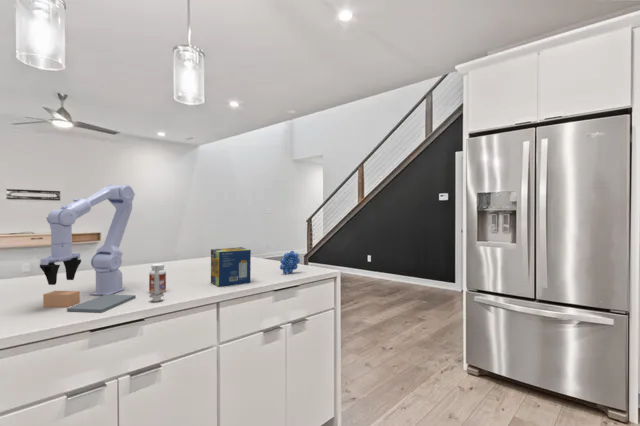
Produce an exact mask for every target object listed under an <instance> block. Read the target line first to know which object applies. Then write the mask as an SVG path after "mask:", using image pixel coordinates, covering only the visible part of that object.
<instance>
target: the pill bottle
mask: <svg viewBox="0 0 640 426" xmlns="http://www.w3.org/2000/svg"><path fill="white" fill-rule="evenodd" d="M156 266H158V267H159V274H160V275H159V277H160V278H159V282H160V283H159V285H160V286H159V293H164V292H166V291H167V271H166V269H165V264H164V263H153V264H151V266H150V267H151V270H150V271H149V274H148V277H149V279H148V280H149V282H148V283H149V285H148V290H149V293H151V294H154V275H155V267H156Z"/></svg>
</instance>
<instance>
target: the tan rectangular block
mask: <svg viewBox="0 0 640 426" xmlns="http://www.w3.org/2000/svg"><path fill="white" fill-rule="evenodd" d="M80 296H81V295H80V291H78V290H53V291H49V292H46V293H43V296H42V297H43V299H42V300H43V301H42V303H43V305H42V306H43V307H47V308H70V306H71V307H72V306H75V304H76V305H78V303H79V304H81V303H80V301H81V300H80V298H81V297H80Z"/></svg>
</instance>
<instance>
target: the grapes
mask: <svg viewBox="0 0 640 426" xmlns="http://www.w3.org/2000/svg"><path fill="white" fill-rule="evenodd" d="M299 256H300V255H299V253H298V252H295V251H294V250H290V251H289V252H285V253H284V255H283V257H281V258H280V266H279V269H280V270H282V273H283V274H288V275H289V274H292V273H293V272H294V271H295V270H297V269H298V264H300V261H301V260H300V258H299Z"/></svg>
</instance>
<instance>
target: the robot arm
mask: <svg viewBox="0 0 640 426" xmlns="http://www.w3.org/2000/svg"><path fill="white" fill-rule="evenodd" d="M135 196H136V193H135V191H134V189H133V188H132V186H131V185H129V184H120V185H119V184H118V185H117V184H116V185H113V184H108V185H107V186H103V187H102V188H101V189H99V190H98V191H97V192H95V193H93V194H92V195H89V197H87V198H85V199H84V198H74V199H72V202H70V203H68V204H66V205H65V204H63V205H61V207H60V208H55V209H52V210H51V211H50V212H49V214H48V216H46V221H47V223H48V225H49V229H50V255H49V256H47V257H45V258H40V260H39V261H40V264H39V268H40V269H41V270H42V271H43V273H44V276H45V278H46V281H47V284H48V285H49V286H55V285H57V280H58V272H59V269H60V266H61V264H57V263H61V262H62V263H63V266H64V269H65V276H66V278H65V279H66V281H74V279H75V276H76V273H77V270H78V268H79V266H80V264H81V263H82V259H81V252H79V253H78V252H75V253H72V251H73V248H72V242H73V241H72V240H73V239H72V238H73V235H72V234H73V233H72V231H73V230H72V229H73V228H72V226H73V225H74V224H75V222H76V221H77V219H79V218H81V217H82V216H84V215H86V214H88V213H89V212H91V209H92V207H94V206H96V205H98V204H100V203H102V202H103V201H104V202H105V201H107V200H108V202H109V203H110V204H111V205H112V206H113V207H114V208H115V212H114V215H113V218H112V220H111V223H110V226H109V228H108V232H107V235H106V236H105V237H106V238H105V240H104V243H103V245H101V246H100V247H99V248H97V250H96V252H95V253H94V254H93V256H92V257H91V259H90V265H91V268H93V269H94V272H95V291H93V292H90V293H89V294H90V296H91V295H93V296H103V295H105V294H107V295H114V294H116V293H119V292H122V291H124V290H125V288H123V273H122V271H121V270H120V269H119V268H120V267H121V265H122V262H123V261H122V260H123V259H122V258H123V257H122V256H123V252H122V251H121V249H120V245H121V242H122V240H123V236H124V233H125V231H126V228H127V225H128V222H129V219H130V216H131V213H132V210H133V201H134V198H135Z"/></svg>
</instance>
